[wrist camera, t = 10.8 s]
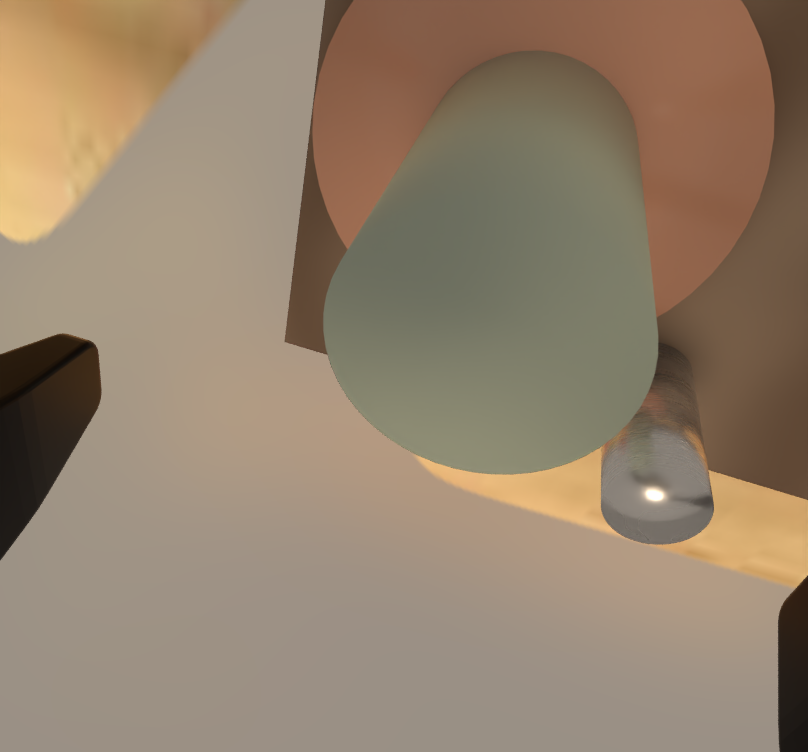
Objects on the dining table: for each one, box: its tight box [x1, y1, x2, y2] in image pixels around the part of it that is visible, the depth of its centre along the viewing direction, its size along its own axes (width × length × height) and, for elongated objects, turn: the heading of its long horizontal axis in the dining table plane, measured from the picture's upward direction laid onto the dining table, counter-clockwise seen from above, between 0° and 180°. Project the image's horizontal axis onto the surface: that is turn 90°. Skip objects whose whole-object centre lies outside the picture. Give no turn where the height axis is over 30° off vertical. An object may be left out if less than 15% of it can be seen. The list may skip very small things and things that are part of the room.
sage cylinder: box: [323, 51, 658, 474], centre depth 14 cm, size 5×5×8 cm
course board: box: [285, 0, 808, 500], centre depth 17 cm, size 18×15×1 cm
